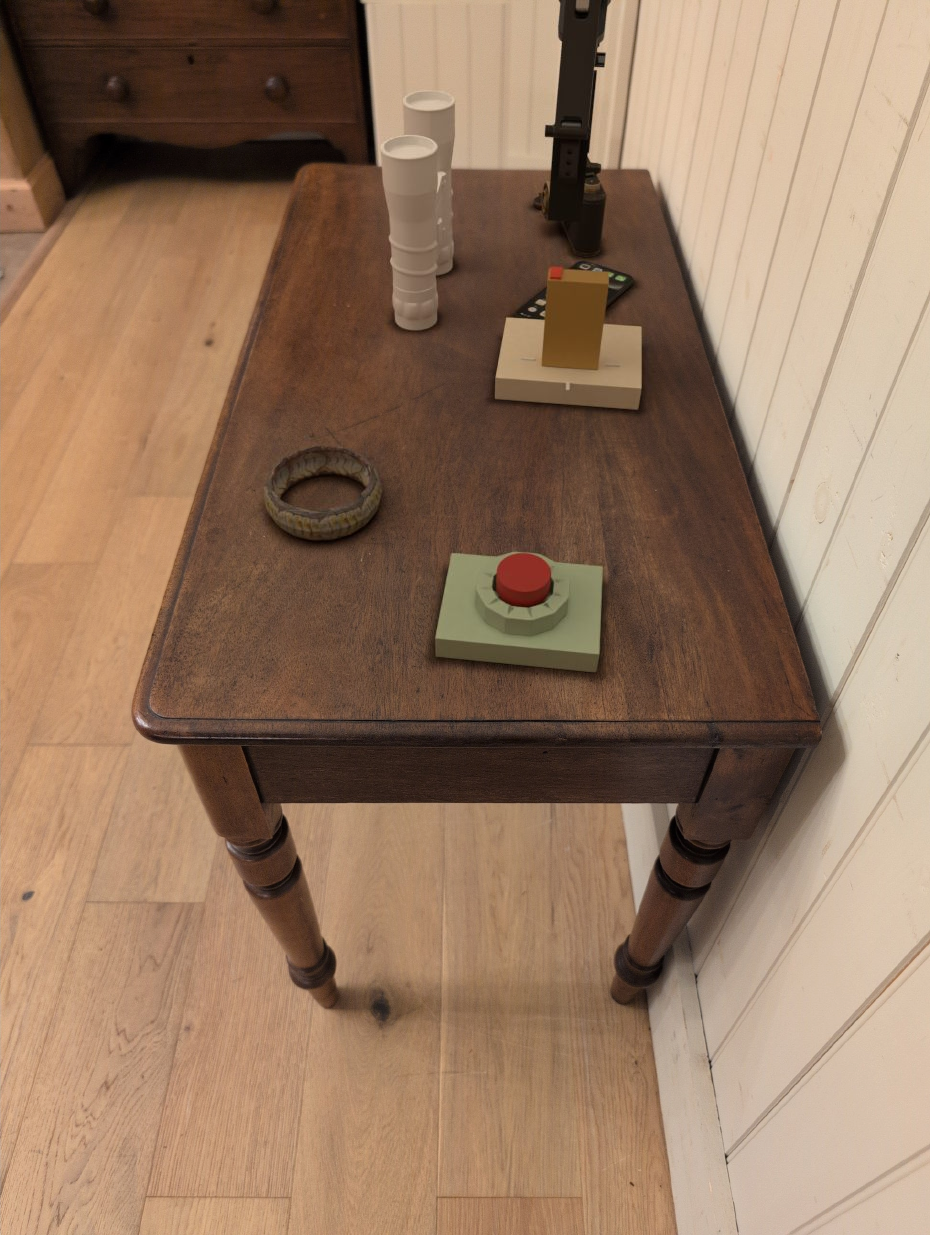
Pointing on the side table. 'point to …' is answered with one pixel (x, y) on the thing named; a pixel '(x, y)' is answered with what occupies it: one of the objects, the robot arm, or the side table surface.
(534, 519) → the side table surface
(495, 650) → the box
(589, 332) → the lock knob
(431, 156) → the binoculars
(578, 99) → the robot arm
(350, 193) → the side table surface
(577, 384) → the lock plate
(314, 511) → the decorative ring
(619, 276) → the smartphone
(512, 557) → the button
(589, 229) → the camera
